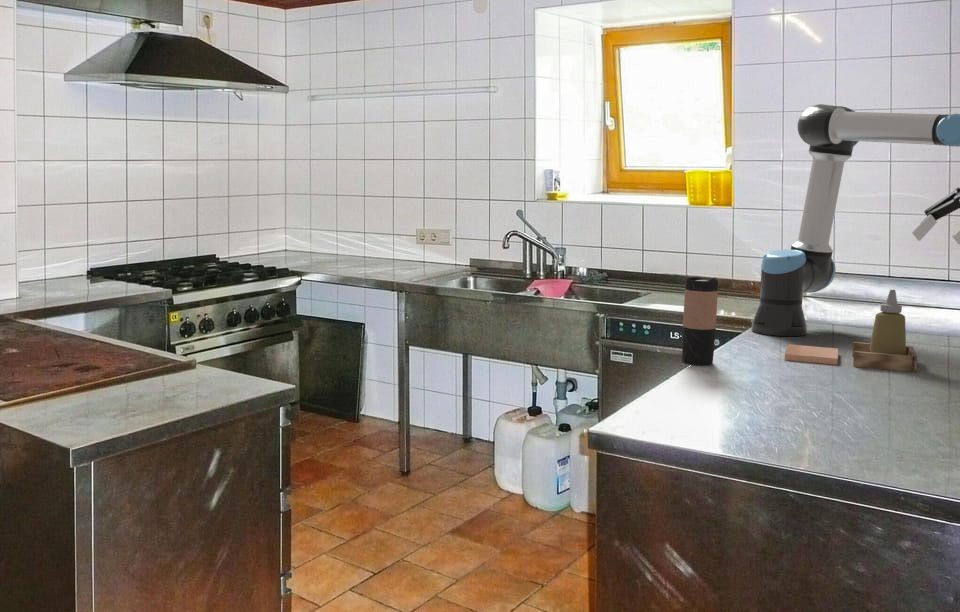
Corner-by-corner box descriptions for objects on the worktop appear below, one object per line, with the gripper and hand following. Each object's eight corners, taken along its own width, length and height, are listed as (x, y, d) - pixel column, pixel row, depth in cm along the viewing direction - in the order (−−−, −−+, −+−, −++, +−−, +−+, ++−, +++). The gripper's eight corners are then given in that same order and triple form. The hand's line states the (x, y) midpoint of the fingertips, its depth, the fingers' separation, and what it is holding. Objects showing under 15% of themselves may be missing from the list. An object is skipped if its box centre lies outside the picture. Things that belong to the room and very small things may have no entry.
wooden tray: (853, 366, 213) (854, 351, 212) (852, 355, 226) (853, 341, 226) (916, 371, 208) (917, 357, 207) (911, 360, 221) (912, 346, 221)
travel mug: (690, 366, 209) (695, 281, 206) (675, 360, 216) (679, 277, 214) (720, 365, 211) (725, 281, 208) (703, 358, 218) (708, 277, 216)
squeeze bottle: (873, 358, 222) (879, 286, 220) (908, 363, 217) (915, 290, 215) (863, 363, 216) (869, 289, 214) (899, 368, 211) (906, 293, 209)
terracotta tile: (784, 360, 219) (784, 354, 219) (787, 350, 232) (788, 344, 231) (837, 364, 214) (837, 358, 214) (837, 354, 227) (838, 348, 227)
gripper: (1043, 188, 209) (983, 253, 207) (963, 187, 233) (908, 245, 231) (1026, 165, 207) (965, 230, 205) (947, 166, 231) (892, 225, 229)
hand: (935, 238), depth 218 cm, fingers open, 13 cm apart
